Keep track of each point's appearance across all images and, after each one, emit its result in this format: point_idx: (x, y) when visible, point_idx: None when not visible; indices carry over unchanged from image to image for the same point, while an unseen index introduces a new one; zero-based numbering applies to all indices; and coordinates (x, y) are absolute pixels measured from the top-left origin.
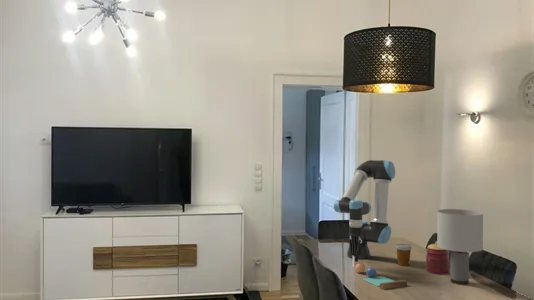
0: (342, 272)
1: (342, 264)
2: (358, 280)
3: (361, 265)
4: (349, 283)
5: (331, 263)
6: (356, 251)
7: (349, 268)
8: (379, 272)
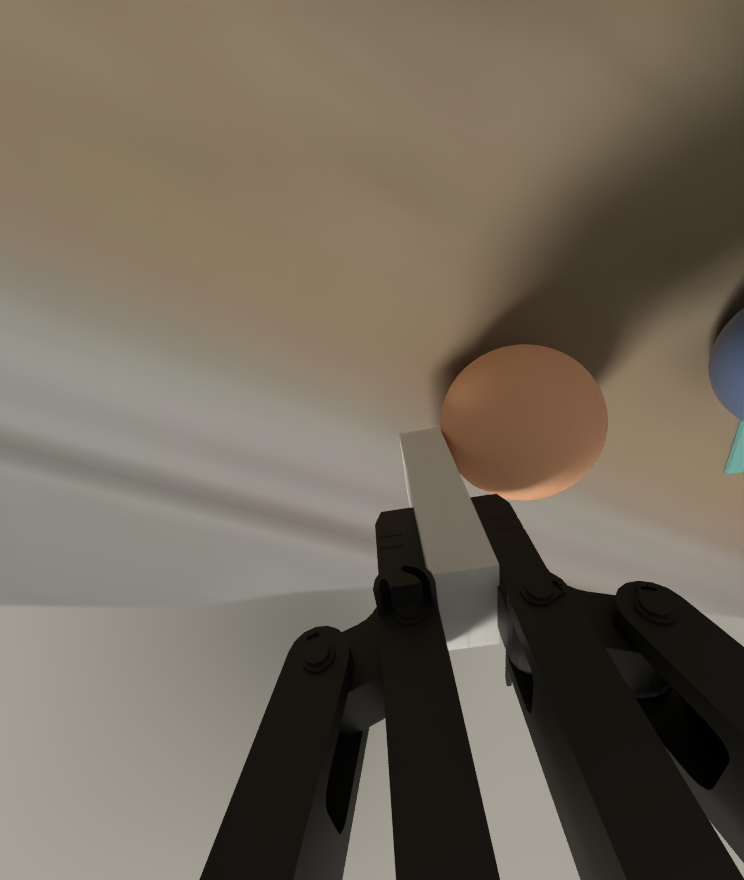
0: None
1: (43, 465)
2: (728, 514)
3: (600, 449)
4: (738, 597)
5: (14, 563)
6: (693, 793)
7: (263, 447)
8: (625, 19)
